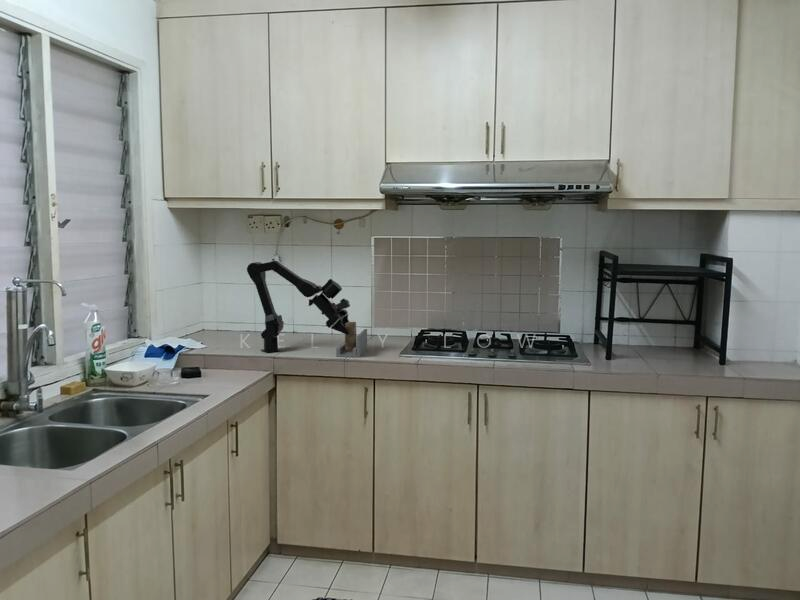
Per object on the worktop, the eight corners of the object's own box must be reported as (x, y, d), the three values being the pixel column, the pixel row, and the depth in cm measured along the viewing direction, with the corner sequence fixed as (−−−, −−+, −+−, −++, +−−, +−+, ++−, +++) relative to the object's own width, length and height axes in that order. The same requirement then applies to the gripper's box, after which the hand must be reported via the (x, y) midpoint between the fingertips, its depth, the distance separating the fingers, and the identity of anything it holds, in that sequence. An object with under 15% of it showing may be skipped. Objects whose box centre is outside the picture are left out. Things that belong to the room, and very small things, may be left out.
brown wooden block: (344, 351, 272) (344, 323, 271) (347, 349, 278) (347, 321, 277) (354, 352, 271) (353, 324, 270) (356, 349, 277) (356, 321, 276)
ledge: (336, 356, 266) (336, 335, 265) (345, 348, 284) (345, 328, 283) (359, 357, 265) (359, 336, 264) (367, 349, 283) (367, 329, 282)
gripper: (333, 295, 263) (359, 322, 263) (343, 291, 282) (367, 316, 282) (314, 314, 265) (341, 341, 265) (325, 308, 284) (350, 333, 283)
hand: (350, 332), depth 274 cm, fingers open, 9 cm apart
